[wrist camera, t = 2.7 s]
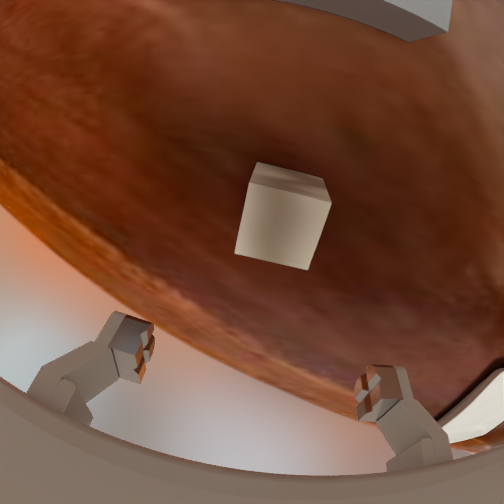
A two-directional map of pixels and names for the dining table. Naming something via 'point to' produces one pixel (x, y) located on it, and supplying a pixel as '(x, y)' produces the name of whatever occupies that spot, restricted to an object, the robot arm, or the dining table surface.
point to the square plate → (477, 410)
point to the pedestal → (391, 15)
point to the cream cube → (282, 216)
